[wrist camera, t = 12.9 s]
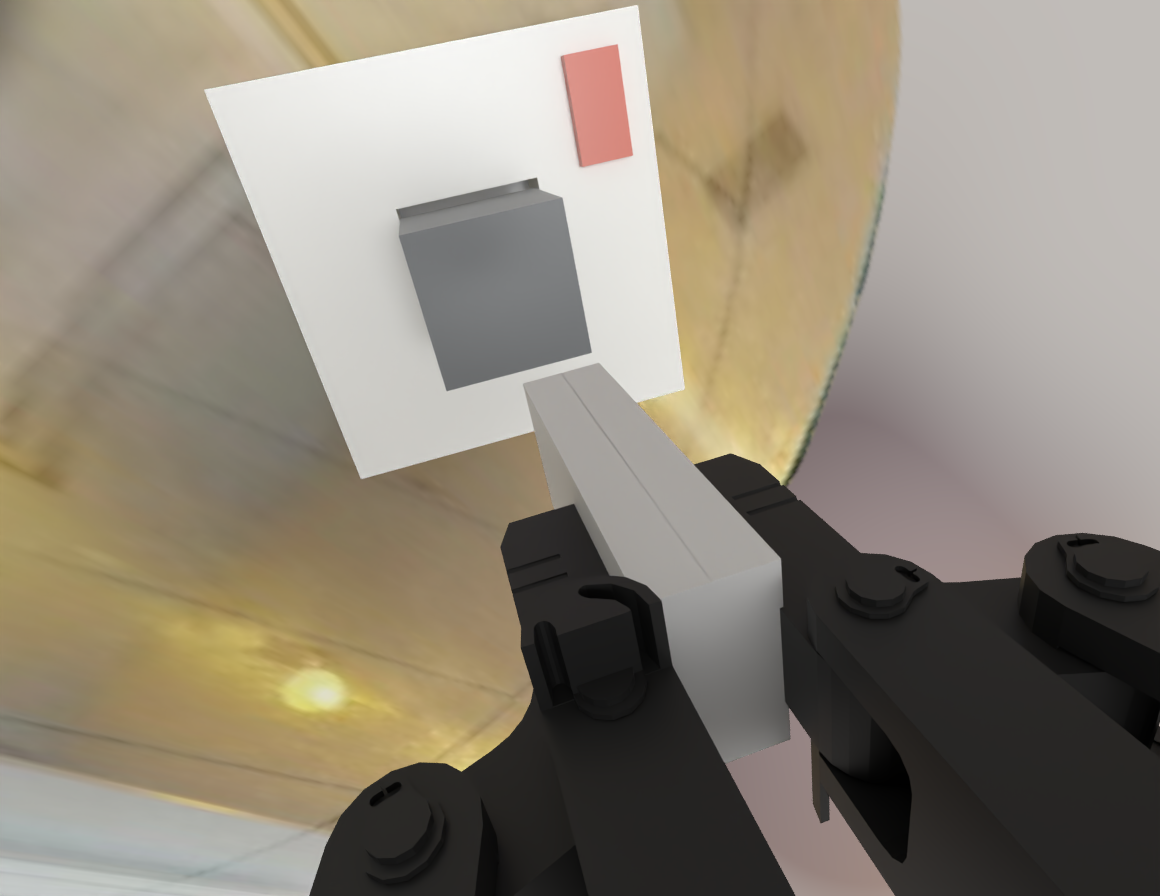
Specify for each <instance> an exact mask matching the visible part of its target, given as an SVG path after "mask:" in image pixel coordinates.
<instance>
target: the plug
mask: <svg viewBox="0 0 1160 896" xmlns="http://www.w3.org/2000/svg"><path fill="white" fill-rule="evenodd" d="M399 239H400V242H401V245H402V248H403V252H404V255H405V258H406V261H407V265H408V268H409V271H410V274H411V278H412V281H413V284H414V287H415V290H416V294H417V297H418V300H419V303H420V307H421V310H422V313H423V316H424V320H425V323H426V326H427V329H428V333H429V336H430V339H431V342H432V346H433V349H434V352H435V355H436V359H437V362H438V365H439V368H440V371H441V375H442V378H443V381H444V384H445V388H446V391H450V390H454V389H457V388H461V387H465V386H469V385H472V384H476V383H480V382H484V381H488V380H491V379H495V378H499V377H503V376H506V375H510V374H514V373H518V372H522V371H525V370H529V369H533V368H537V367H540V366H544V365H548V364H552V363H555V362H559V361H563V360H567V359H571V358H574V357H578V356H582V355H586V354H589V353H592V350H591V345H590V340H589V335H588V329H587V324H586V319H585V313H584V308H583V303H582V298H581V292H580V287H579V282H578V276H577V271H576V266H575V261H574V255H573V250H572V245H571V239H570V234H569V229H568V224H567V218H566V213H565V208H564V203H563V198H562V197H559V196H556V195H553V194H551V193H548V192H545V191H542V190H539V189H536V188H531V189H527V190H522V191H518V192H514V193H509V194H505V195H500V196H496V197H492V198H487V199H483V200H479V201H474V202H470V203H465V204H461V205H457V206H452V207H448V208H443V209H439V210H435V211H430V212H426V213H422V214H417V215H413V216H408V217H404V218H400V227H399Z"/></svg>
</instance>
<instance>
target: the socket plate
mask: <svg viewBox="0 0 1160 896" xmlns="http://www.w3.org/2000/svg"><path fill="white" fill-rule="evenodd" d="M204 91H205V94H206V96H207V99H208V101H209V104H210V106H211V108H212V111H213V113H214V116H215V118H216V121H217V123H218V126H219V128H220V131H221V133H222V136H223V138H224V141H225V143H226V146H227V148H228V151H229V153H230V156H231V158H232V161H233V163H234V166H235V168H236V170H237V173H238V175H239V178H240V180H241V183H242V185H243V188H244V190H245V193H246V195H247V198H248V200H249V203H250V205H251V208H252V210H253V213H254V215H255V218H256V220H257V223H258V225H259V228H260V230H261V232H262V235H263V237H264V240H265V242H266V245H267V247H268V250H269V252H270V255H271V257H272V260H273V262H274V265H275V267H276V270H277V272H278V275H279V277H280V280H281V282H282V285H283V287H284V289H285V292H286V294H287V297H288V299H289V302H290V304H291V307H292V309H293V312H294V314H295V317H296V319H297V322H298V324H299V327H300V329H301V332H302V334H303V337H304V339H305V342H306V344H307V347H308V349H309V351H310V354H311V356H312V359H313V361H314V364H315V366H316V369H317V371H318V374H319V376H320V379H321V381H322V384H323V386H324V389H325V391H326V394H327V396H328V399H329V401H330V404H331V406H332V408H333V411H334V413H335V416H336V418H337V421H338V423H339V426H340V428H341V431H342V433H343V436H344V438H345V441H346V443H347V446H348V448H349V451H350V453H351V456H352V458H353V461H354V463H355V466H356V468H357V470H358V473H359V475H360V478H361V479H364V478H368V477H371V476H375V475H378V474H382V473H386V472H389V471H393V470H396V469H400V468H404V467H407V466H411V465H414V464H418V463H422V462H425V461H429V460H432V459H436V458H440V457H443V456H447V455H450V454H454V453H458V452H461V451H465V450H468V449H472V448H476V447H479V446H483V445H486V444H490V443H494V442H497V441H501V440H504V439H508V438H512V437H515V436H519V435H522V434H526V433H530V432H533V431H534V427H533V423H532V419H531V415H530V411H529V407H528V403H527V399H526V395H525V391H524V387H523V383H527V382H530V381H534V380H537V379H541V378H545V377H548V376H552V375H556V374H559V373H563V372H567V371H570V370H574V369H578V368H581V367H585V366H589V365H592V364H596V363H600V364H601V365H602V366H603V367H604V368H605V370H606V371H607V372H608V373H609V374H610V375H611V376H612V377H613V378H614V379H615V380H616V381H617V382H618V384H619V385H620V386H621V387H622V388H623V389H624V390H625V391H626V392H627V393H628V394H629V395H630V396H631V398H632V399H633V400H634V401H635V402H636V403H637V402H641V401H645V400H648V399H652V398H655V397H659V396H663V395H666V394H670V393H673V392H677V391H681V390H684V389H685V386H684V378H683V370H682V362H681V354H680V346H679V338H678V329H677V321H676V313H675V305H674V297H673V289H672V280H671V272H670V264H669V256H668V248H667V240H666V231H665V223H664V215H663V207H662V199H661V191H660V182H659V174H658V166H657V158H656V150H655V142H654V134H653V125H652V117H651V109H650V101H649V93H648V85H647V76H646V68H645V60H644V52H643V44H642V36H641V27H640V19H639V11H638V5H635V6H630V7H625V8H620V9H615V10H609V11H604V12H599V13H594V14H589V15H584V16H579V17H574V18H568V19H563V20H558V21H553V22H548V23H543V24H538V25H533V26H528V27H522V28H517V29H512V30H507V31H502V32H497V33H492V34H487V35H481V36H476V37H471V38H466V39H461V40H456V41H451V42H446V43H441V44H435V45H430V46H425V47H420V48H415V49H410V50H405V51H400V52H394V53H389V54H384V55H379V56H374V57H369V58H364V59H359V60H353V61H348V62H343V63H338V64H333V65H328V66H323V67H318V68H313V69H307V70H302V71H297V72H292V73H287V74H282V75H277V76H272V77H266V78H261V79H256V80H251V81H246V82H241V83H236V84H231V85H226V86H220V87H215V88H210V89H205V90H204ZM531 188H536V189H539V190H542V191H545V192H548V193H551V194H553V195H556V196H559V197H562V198H563V203H564V208H565V213H566V218H567V224H568V229H569V234H570V239H571V245H572V250H573V255H574V261H575V266H576V271H577V276H578V282H579V287H580V292H581V298H582V303H583V308H584V313H585V319H586V324H587V329H588V335H589V340H590V345H591V350H592V353H589V354H586V355H582V356H578V357H574V358H571V359H567V360H563V361H559V362H555V363H552V364H548V365H544V366H540V367H537V368H533V369H529V370H525V371H522V372H518V373H514V374H510V375H506V376H503V377H499V378H495V379H491V380H488V381H484V382H480V383H476V384H472V385H469V386H465V387H461V388H457V389H454V390H450V391H446V388H445V384H444V381H443V378H442V375H441V371H440V368H439V365H438V362H437V359H436V355H435V352H434V349H433V346H432V342H431V339H430V336H429V333H428V329H427V326H426V323H425V320H424V316H423V313H422V310H421V307H420V303H419V300H418V297H417V294H416V290H415V287H414V284H413V281H412V278H411V274H410V271H409V268H408V265H407V261H406V258H405V255H404V252H403V248H402V245H401V242H400V239H399V227H400V218H404V217H408V216H413V215H417V214H422V213H426V212H430V211H435V210H439V209H443V208H448V207H452V206H457V205H461V204H465V203H470V202H474V201H479V200H483V199H487V198H492V197H496V196H500V195H505V194H509V193H514V192H518V191H522V190H527V189H531Z"/></svg>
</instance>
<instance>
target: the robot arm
mask: <svg viewBox="0 0 1160 896" xmlns="http://www.w3.org/2000/svg"><path fill="white" fill-rule="evenodd" d="M523 387H524V391H525V395H526V399H527V403H528V407H529V411H530V415H531V419H532V423H533V427H534V431H535V435H536V439H537V444H538V448H539V452H540V456H541V460H542V464H543V468H544V472H545V476H546V480H547V484H548V488H549V492H550V496H551V500H552V504H553V507H554V510H551V511H548V512H545V513H541V514H538V515H535V516H531V517H528V518H525V519H522V520H518V521H515V522H512V523H509V525H508V528H507V530H506V533H505V536H504V539H503V541H502V544H501V551H502V555H503V559H504V563H505V567H506V570H507V574H508V578H509V582H510V586H511V590H512V593H513V598H514V601H515V605H516V609H517V613H518V617H519V621H520V625H521V650H522V653H523V656H524V660H525V663H526V666H527V669H528V672H529V675H530V679H531V682H532V685H533V688H534V689H533V694H532V699H531V703H530V705H529V707H528V709H527V711H526V713H525V715H524V717H523V719H522V721H521V722H520V723H519V725H518V726H517V727H516V728H515V730H514V731H513V732H512V733H511V734H510V736H509V737H508V738H506V739H505V740H504V741H503V742H502V743H500V744H499V745H498V746H497V747H496V748H494V749H493V750H492V751H491V752H489V753H488V754H486V755H485V756H483V757H482V758H481V759H479V760H478V761H476V762H475V763H473V764H472V765H471V766H469V767H468V768H466V769H465V770H463V771H462V772H461V771H459V770H457V769H455V768H453V767H452V766H450V765H448V764H445V763H421V762H420V763H416V764H413V765H410V766H407V767H404V768H401V769H397V770H394V771H391V772H390V773H388V774H387V775H385V776H384V777H382V778H381V779H379V780H378V781H376V782H375V783H373V784H372V785H370V786H369V787H367V788H366V789H364V790H363V791H362V792H361V794H360V795H359V796H358V797H357V798H356V799H355V800H354V801H353V802H352V804H351V805H350V806H349V807H348V808H347V809H346V810H345V811H344V813H343V814H342V815H341V816H340V818H339V820H338V822H337V824H336V826H335V828H334V830H333V832H332V834H331V836H330V838H329V840H328V842H327V844H326V846H325V849H324V852H323V855H322V858H321V861H320V865H319V868H318V871H317V874H316V877H315V880H314V883H313V886H312V889H311V892H310V895H309V896H795V894H794V892H793V890H792V888H791V886H790V885H789V883H788V881H787V879H786V877H785V875H784V873H783V872H782V870H781V868H780V866H779V864H778V862H777V860H776V859H775V856H774V855H773V853H772V851H771V849H770V847H769V845H768V844H767V841H766V840H765V838H764V836H763V834H762V833H761V830H760V829H759V827H758V825H757V823H756V821H755V819H754V817H753V815H752V814H751V812H750V810H749V808H748V806H747V804H746V802H745V800H744V799H743V797H742V795H741V793H740V791H739V789H738V787H737V785H736V783H735V782H734V780H733V778H732V776H731V774H730V772H729V771H728V769H727V767H726V765H725V764H726V763H729V762H731V761H734V760H737V759H739V758H742V757H745V756H747V755H750V754H752V753H755V752H758V751H761V750H763V749H766V748H769V747H771V746H774V745H776V744H779V743H782V742H784V741H787V740H790V721H789V708H790V709H791V711H792V712H793V713H794V715H795V717H796V718H797V719H798V721H799V722H800V724H801V725H802V727H803V728H804V729H805V731H806V732H807V734H808V735H809V736H810V738H811V756H812V791H813V805H814V808H815V810H816V813H817V815H818V818H819V820H820V823H823V822H825V821H828V820H829V796H830V798H831V799H832V801H833V802H834V804H835V805H836V807H837V808H838V810H839V811H840V813H841V814H842V816H843V817H844V819H845V821H846V822H847V824H848V825H849V827H850V828H851V830H852V831H853V832H854V834H855V836H856V837H857V839H858V840H859V841H860V843H861V845H862V846H863V848H864V849H865V850H866V852H867V854H868V855H869V857H870V858H871V860H872V861H873V863H874V864H875V866H876V867H877V869H878V870H879V872H880V873H881V875H882V877H883V878H884V879H885V881H886V883H887V884H888V886H889V887H890V888H891V890H892V892H893V893H894V895H895V896H1160V726H1159V723H1160V551H1158V550H1156V549H1153V548H1151V547H1148V546H1145V545H1142V544H1138V543H1134V542H1131V541H1128V540H1124V539H1121V538H1117V537H1114V536H1105V535H1095V534H1087V533H1077V534H1065V535H1055V536H1052V537H1050V538H1048V539H1045V540H1042V541H1040V542H1037V543H1035V544H1034V545H1033V546H1032V548H1031V549H1030V550H1029V551H1028V553H1027V554H1026V555H1025V558H1024V563H1023V569H1022V576H1021V578H1009V579H996V580H983V581H971V582H960V583H959V582H953V583H952V582H951V583H950V582H949V583H943V582H941V581H940V580H939V579H938V578H936V577H935V576H934V575H933V574H931V573H929V572H927V571H926V570H924V569H922V568H920V567H919V566H917V565H915V564H914V563H912V562H910V561H906V560H903V559H899V558H896V557H892V556H889V555H885V554H867V553H860V552H859V551H858V550H857V549H855V548H854V547H853V546H852V545H851V544H850V543H849V542H847V541H846V540H845V539H844V538H843V537H842V536H840V535H839V534H838V533H837V532H836V531H835V530H834V529H833V528H832V527H830V526H829V525H828V524H827V523H826V522H825V521H823V519H821V518H820V517H819V516H818V515H817V514H816V513H814V512H813V511H812V510H811V509H810V508H809V507H808V506H807V505H805V504H804V503H803V502H802V501H801V500H799V501H798V500H797V498H796V496H795V495H794V494H793V493H792V492H791V491H790V490H788V489H787V488H786V487H785V486H784V485H782V486H781V485H780V482H779V481H778V480H777V479H776V478H775V477H774V476H773V475H771V474H770V473H769V472H768V471H767V470H766V469H765V468H763V467H762V466H761V465H760V464H758V463H755V462H752V461H750V460H747V459H744V458H742V457H739V456H736V455H734V454H727V455H724V456H721V457H717V458H714V459H711V460H708V461H704V462H701V463H698V464H693V463H692V462H691V461H690V460H689V459H688V458H687V457H686V456H685V455H684V454H683V453H682V451H681V450H680V449H679V448H678V447H677V446H676V445H675V444H674V443H673V442H672V441H671V440H670V439H669V437H668V436H667V435H666V434H665V433H664V432H663V431H662V430H661V429H660V428H659V427H658V426H657V424H656V423H655V422H654V421H653V420H652V419H651V418H650V417H649V416H648V415H647V414H646V413H645V412H644V410H643V409H642V408H641V407H640V406H639V405H638V404H637V403H636V402H635V401H634V400H633V399H632V398H631V396H630V395H629V394H628V393H627V392H626V391H625V390H624V389H623V388H622V387H621V386H620V385H619V384H618V382H617V381H616V380H615V379H614V378H613V377H612V376H611V375H610V374H609V373H608V372H607V371H606V370H605V368H604V367H603V366H602V365H601V364H600V363H596V364H592V365H589V366H585V367H581V368H578V369H574V370H570V371H567V372H563V373H559V374H556V375H552V376H548V377H545V378H541V379H537V380H534V381H530V382H527V383H523Z"/></svg>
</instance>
